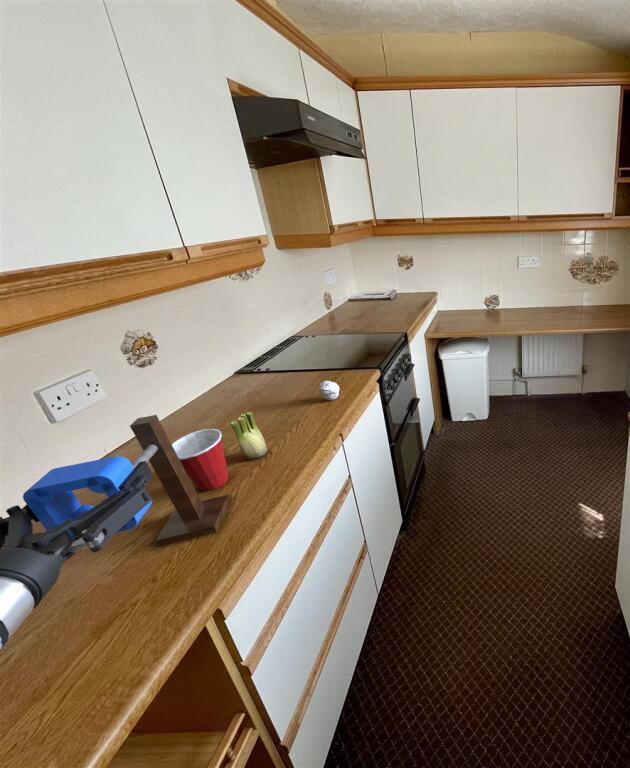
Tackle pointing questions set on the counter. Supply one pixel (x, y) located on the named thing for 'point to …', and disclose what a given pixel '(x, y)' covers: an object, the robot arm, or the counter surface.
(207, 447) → the plastic cup
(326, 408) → the counter surface
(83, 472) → the blue rounded square frame
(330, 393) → the white lumpy ball
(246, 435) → the fennel bulb
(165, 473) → the hook stand
